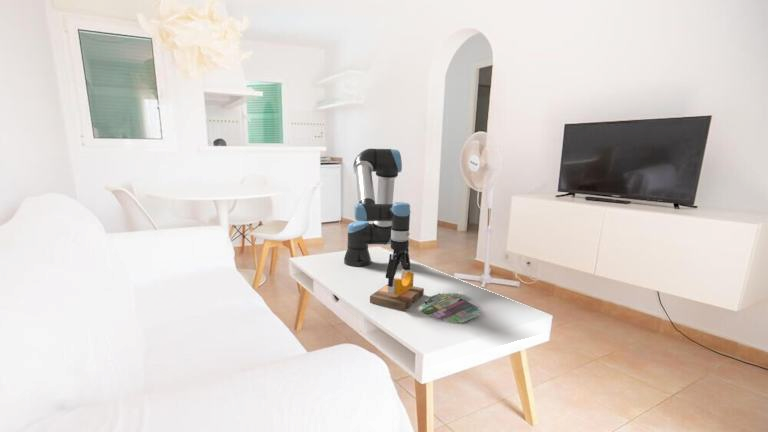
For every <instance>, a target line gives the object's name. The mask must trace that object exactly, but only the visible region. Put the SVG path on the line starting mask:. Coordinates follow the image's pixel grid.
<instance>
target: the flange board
mask: <svg viewBox="0 0 768 432" xmlns="http://www.w3.org/2000/svg"><path fill="white" fill-rule="evenodd" d="M424 291H425V289H424V288H423V287H418V286H414V285H413V288H411V289H409V290H407V291H406V292H404V293H402V294H400V295H399V296H398V295H395V294H390V293H388V283H387V284H385V285H384V286H382V287H381V288H380V289H378V290H377V291H375V292H374V293H372V294H371V295H370V296H369V303H370V304H375V305H378V306H383V307H385V308H389V309H390V308H391V309H395V310H399V311H403V312H406V311H407V310H408V309H409V308H410V307H412V306H413V305H414V304H415V303H416V302H417V301H418V300H420V299H421V298H422V297H423V296H424V294H425V293H424Z"/></svg>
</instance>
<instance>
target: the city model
mask: <svg viewBox="0 0 768 432" xmlns="http://www.w3.org/2000/svg"><path fill="white" fill-rule="evenodd" d="M420 311H421V312H422V314H425V315H427V316H430V317H433V318H436V319H439V320H441V321H444V322H446V323H450V324H453V325H455V324H456V323H459V324H460V323H465V322H467V321H470V320H472V319H474V318H476V317H478V316H479V314H480V313H481V306H480V305H479V304H478V301H476V299H474V298H472V297H470V296H468V295H465V294H461V293H455V292H453V293H451V292H448V293H444V292H443V293H440V292H439V293H437V294H433V295H432V296H431V295H430V296H429V297H428V298H427V299H425V301H423V303H422V304H421V310H420Z"/></svg>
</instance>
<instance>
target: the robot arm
mask: <svg viewBox="0 0 768 432" xmlns="http://www.w3.org/2000/svg"><path fill="white" fill-rule="evenodd" d="M401 156H402V155H401V152H400V151H399V150H398V149H392V148H367V149H365V150H362V151H361V152H359V154H358V155H357V156H356V157H355V159H354V160H353V173H354V174H355V176H356V189H357V190H356V191H357V201H358V203H355V205H354V220H355V221H352V222H350V223H348V225H347V243H346V245H347V249H346V252H345V254H344V257H343V258H344V259H343V263H344V265H346V266H347V265H348V266H351V267H365V266H368V265H370V264H371V263H372V257H371V254H370V251H369V245H384V246H385V245H390V249H391V250H393V253H390V254H389V256H388V257H389V258H388V265H387V267H386V273H385V279H388V281H387V284H388V293H390V294H394V293H395V276H396V273H397V271H398V270H397V269H398V267H399V265H400V264H401V268H402V269H401V278H400V279H404V278H406V273H407V272H409V271H411V261H410V260H411V259H410V254H409V253H410V252H409V251H410V250H409V239H410V234H411V233H410V223H411V222H410V221H411V219H410V218H411V205H410V203H408V202H403V201H400V202H395V201H393V200H394V190H395V179H396V178H397V177H398V176H399V173H401V172H402V168H403V167H402V166H403V163H402V162H403V161H402V157H401ZM372 172H375V176H377V178H378V179H377V181H378V182H377V194H376V195H377V196H376V199H375V191H374V181H373V174H372ZM370 222H372V223H370Z"/></svg>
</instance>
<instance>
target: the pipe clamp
mask: <svg viewBox="0 0 768 432" xmlns="http://www.w3.org/2000/svg"><path fill="white" fill-rule="evenodd" d="M414 274H415V273H414V272H410V271H408V272H407V273H406V278H404V279H401V278H398V277H394V279H395V293H394V294H395V295H398V296H399V295H400V294H402V293H404V292H406V291H407V290H409V289H411V288H413V286H414V276H415V275H414Z"/></svg>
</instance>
